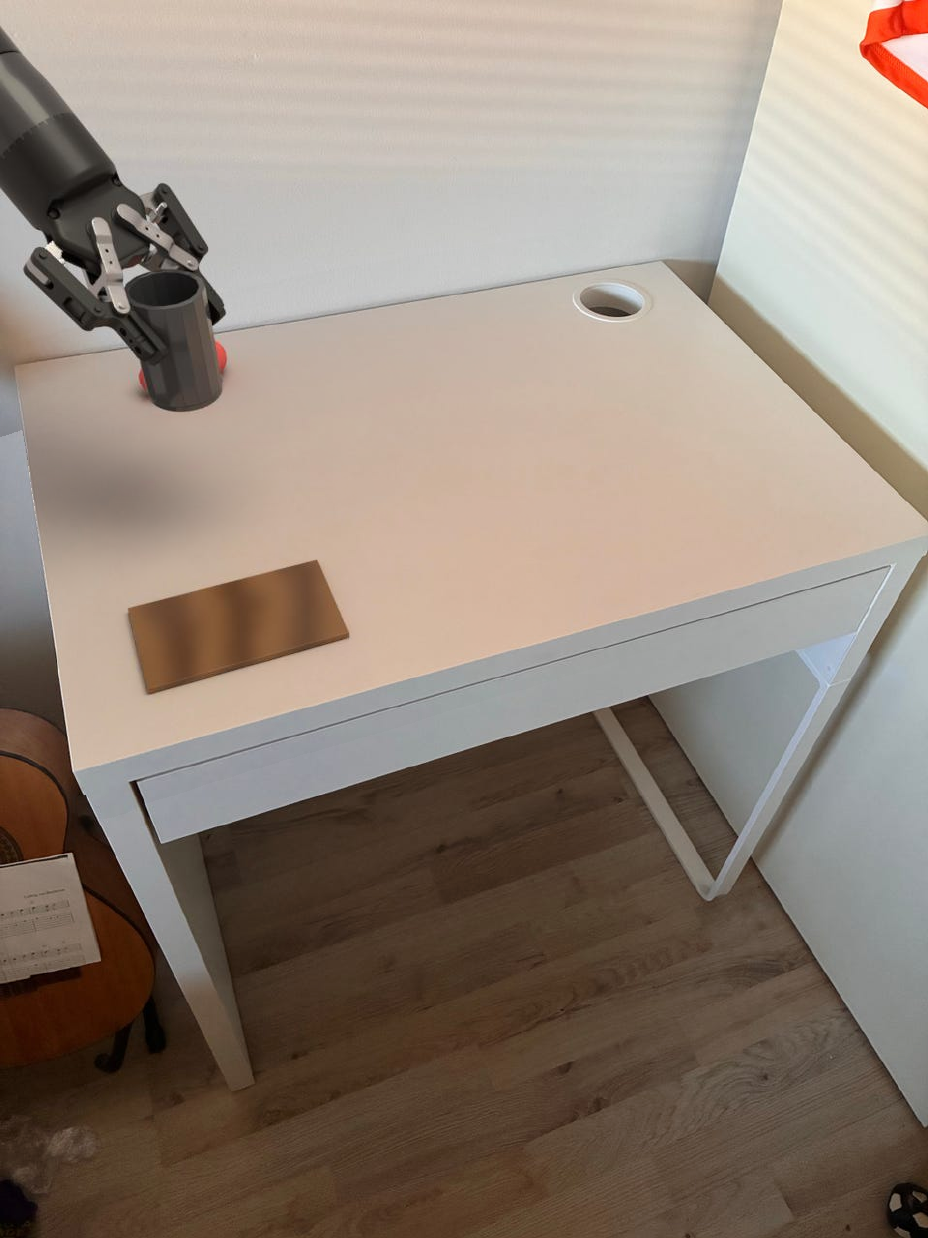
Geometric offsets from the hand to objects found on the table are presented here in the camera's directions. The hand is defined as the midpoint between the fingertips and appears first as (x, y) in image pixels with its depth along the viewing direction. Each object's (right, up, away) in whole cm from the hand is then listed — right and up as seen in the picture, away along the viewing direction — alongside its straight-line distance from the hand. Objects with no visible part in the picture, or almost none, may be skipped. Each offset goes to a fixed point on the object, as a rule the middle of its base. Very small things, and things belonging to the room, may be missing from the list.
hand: (190, 338), depth 73 cm
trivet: (+3, -22, +4) cm, 23 cm away
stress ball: (-8, +3, +27) cm, 28 cm away
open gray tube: (-2, -3, +4) cm, 6 cm away
